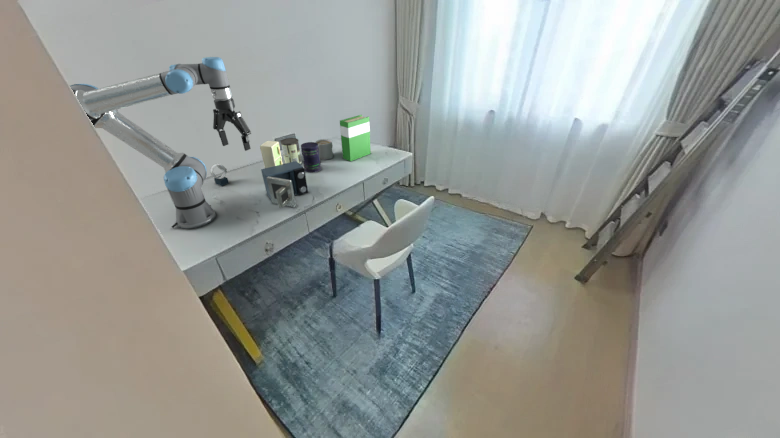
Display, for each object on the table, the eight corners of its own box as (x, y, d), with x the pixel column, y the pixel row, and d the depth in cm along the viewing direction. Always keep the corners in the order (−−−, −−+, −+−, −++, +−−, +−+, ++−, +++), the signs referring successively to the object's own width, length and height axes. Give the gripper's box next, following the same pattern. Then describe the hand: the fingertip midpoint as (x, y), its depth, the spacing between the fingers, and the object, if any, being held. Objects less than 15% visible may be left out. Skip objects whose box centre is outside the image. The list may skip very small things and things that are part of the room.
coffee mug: (325, 161, 198) (323, 145, 193) (314, 157, 203) (312, 142, 198) (339, 154, 207) (338, 139, 202) (328, 151, 212) (327, 136, 207)
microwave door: (286, 214, 146) (280, 188, 138) (263, 209, 149) (257, 183, 142) (296, 205, 152) (291, 180, 145) (274, 201, 156) (268, 176, 148)
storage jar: (315, 173, 183) (311, 149, 174) (301, 171, 186) (297, 146, 177) (324, 167, 190) (321, 143, 182) (310, 164, 193) (307, 141, 185)
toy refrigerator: (280, 183, 172) (272, 146, 161) (267, 182, 173) (259, 145, 162) (286, 177, 179) (279, 141, 167) (274, 176, 180) (267, 140, 168)
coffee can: (293, 158, 202) (289, 136, 194) (305, 161, 197) (301, 139, 190) (281, 163, 195) (276, 141, 187) (292, 167, 190) (288, 144, 182)
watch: (232, 181, 174) (226, 163, 168) (218, 187, 168) (212, 168, 162) (225, 179, 176) (220, 160, 170) (212, 184, 171) (206, 165, 165)
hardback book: (362, 150, 213) (361, 114, 200) (370, 153, 209) (369, 116, 196) (342, 158, 202) (339, 120, 189) (350, 161, 198) (347, 123, 185)
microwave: (308, 193, 163) (304, 168, 155) (274, 203, 154) (268, 177, 147) (300, 185, 171) (296, 161, 163) (266, 194, 162) (260, 169, 154)
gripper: (194, 97, 134) (210, 145, 145) (238, 103, 125) (251, 154, 137) (209, 94, 139) (223, 140, 151) (252, 99, 131) (263, 148, 142)
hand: (236, 147), depth 144 cm, fingers open, 13 cm apart
